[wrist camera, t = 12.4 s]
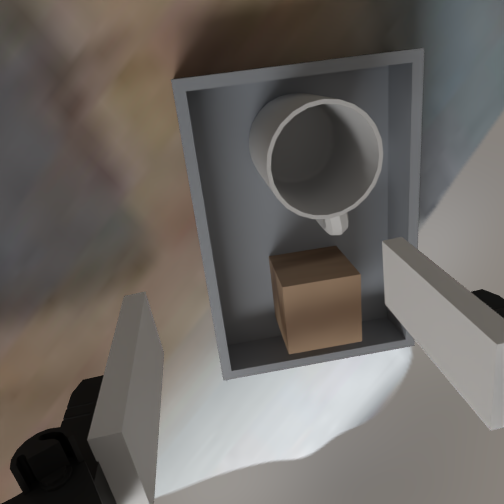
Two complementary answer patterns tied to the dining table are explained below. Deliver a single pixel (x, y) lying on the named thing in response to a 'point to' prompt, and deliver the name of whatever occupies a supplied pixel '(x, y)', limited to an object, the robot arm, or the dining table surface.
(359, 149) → the cup
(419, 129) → the gray tray
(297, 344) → the walnut block
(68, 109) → the dining table surface
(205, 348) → the dining table surface
